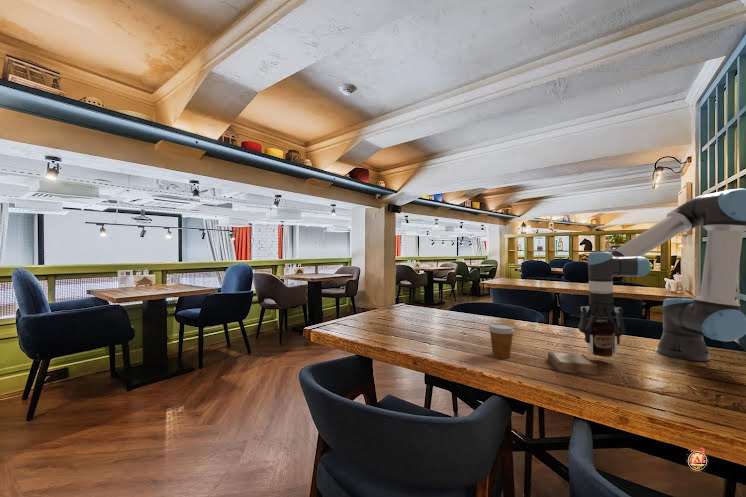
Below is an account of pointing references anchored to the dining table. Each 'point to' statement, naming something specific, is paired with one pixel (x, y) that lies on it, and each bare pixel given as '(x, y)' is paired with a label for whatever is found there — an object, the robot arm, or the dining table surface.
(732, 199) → the robot arm
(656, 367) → the dining table surface
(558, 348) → the dining table surface
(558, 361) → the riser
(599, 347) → the coffee cup
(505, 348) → the disposable coffee cup
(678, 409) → the dining table surface
